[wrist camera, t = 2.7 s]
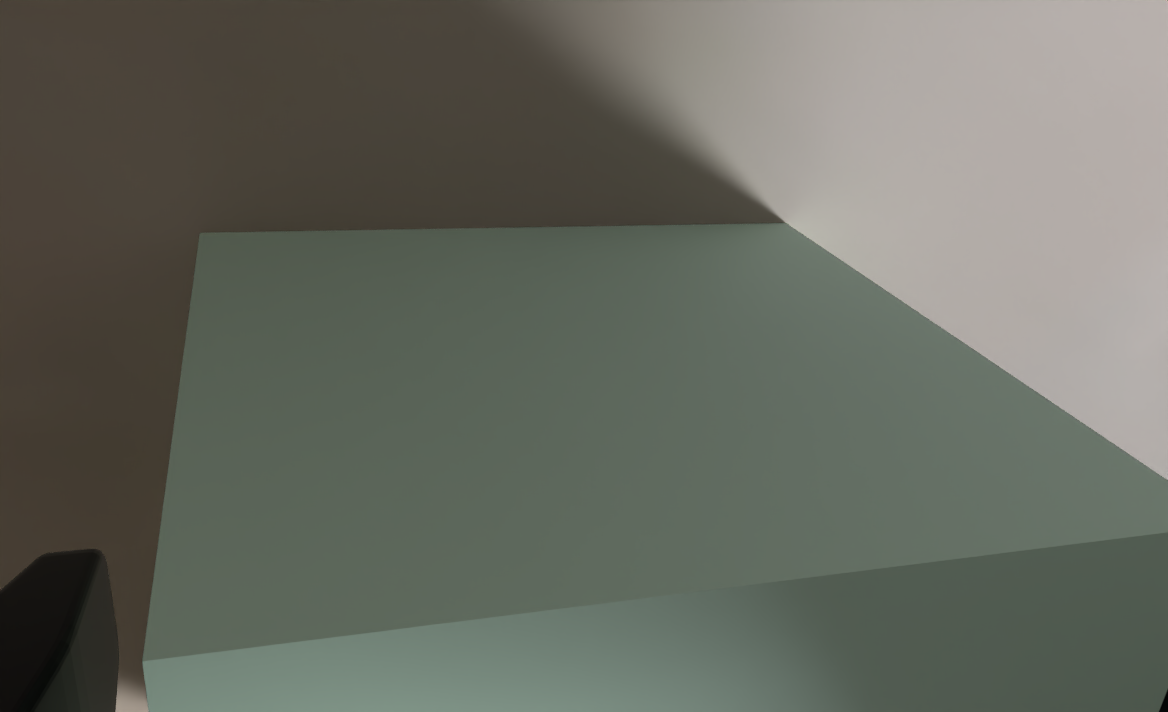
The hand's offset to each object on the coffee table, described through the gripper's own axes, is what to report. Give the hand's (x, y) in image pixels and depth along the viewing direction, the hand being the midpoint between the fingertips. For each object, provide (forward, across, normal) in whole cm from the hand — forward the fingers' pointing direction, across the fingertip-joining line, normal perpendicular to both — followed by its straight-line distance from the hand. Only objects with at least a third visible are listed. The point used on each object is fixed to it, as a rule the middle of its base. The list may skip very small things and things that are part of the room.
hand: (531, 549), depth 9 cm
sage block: (+1, 0, 0) cm, 1 cm away
